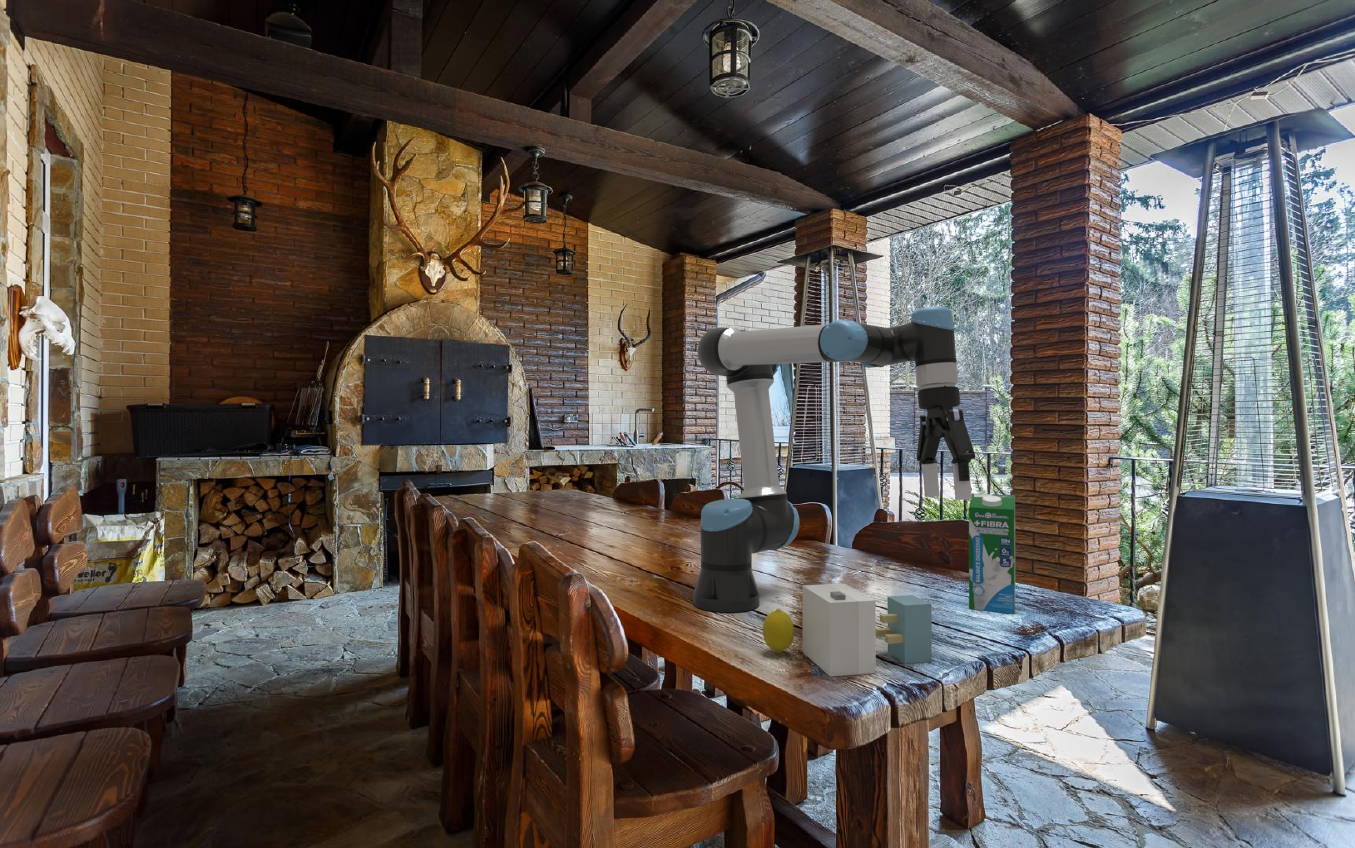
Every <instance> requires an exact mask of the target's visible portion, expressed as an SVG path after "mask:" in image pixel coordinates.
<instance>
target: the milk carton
mask: <svg viewBox="0 0 1355 848" xmlns="http://www.w3.org/2000/svg"><path fill="white" fill-rule="evenodd" d="M971 494H972V499H969V500H970V501H969V506H968V609H969V610H975V611H977V610H978V611H984V612H985V611H986V612H991V611H992V612H993V613H1001V614H1009V615H1014V614H1015V613H1016V495H1015V494H996V493H994V494H993V493H992V494H990V493H975V492H971Z"/></svg>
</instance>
